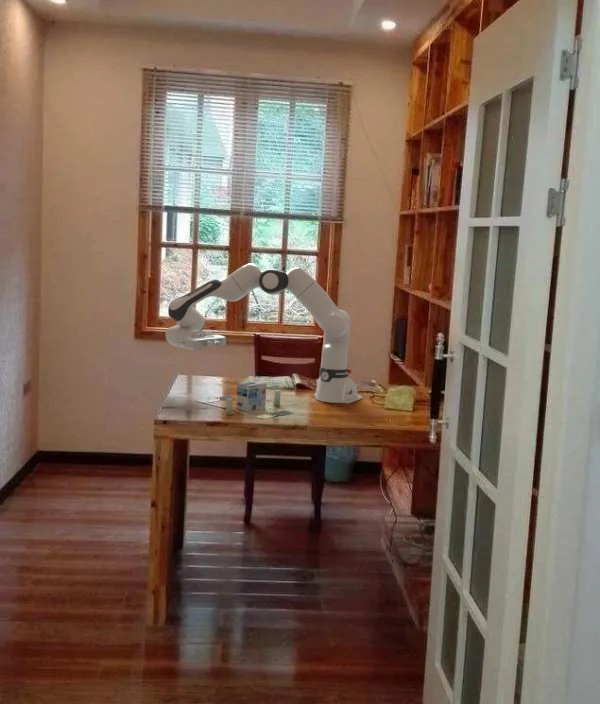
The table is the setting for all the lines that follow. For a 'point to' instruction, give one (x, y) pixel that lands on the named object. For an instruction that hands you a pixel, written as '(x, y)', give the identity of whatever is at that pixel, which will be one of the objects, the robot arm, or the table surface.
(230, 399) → the trap lane
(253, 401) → the light bulb box
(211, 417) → the table surface
